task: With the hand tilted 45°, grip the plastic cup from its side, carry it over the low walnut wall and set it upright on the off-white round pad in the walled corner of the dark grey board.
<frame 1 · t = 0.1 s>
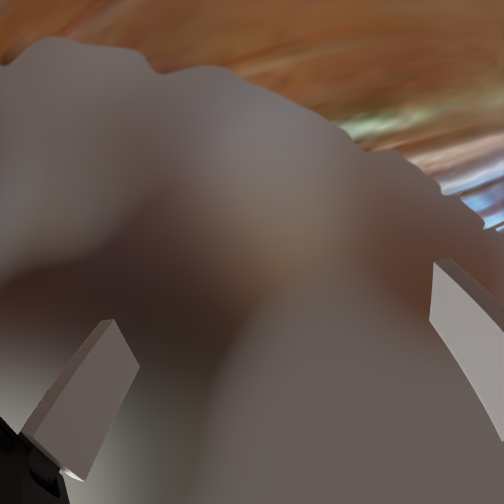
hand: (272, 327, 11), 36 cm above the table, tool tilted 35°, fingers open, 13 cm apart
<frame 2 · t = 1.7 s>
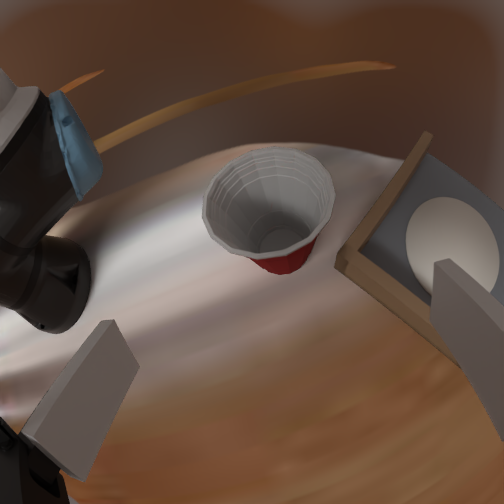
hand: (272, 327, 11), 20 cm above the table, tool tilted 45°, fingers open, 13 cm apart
plastic cup: (281, 250, 33), on the table
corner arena: (453, 251, 28), on the table
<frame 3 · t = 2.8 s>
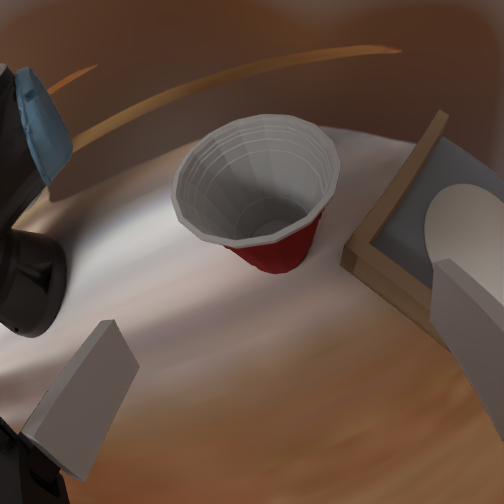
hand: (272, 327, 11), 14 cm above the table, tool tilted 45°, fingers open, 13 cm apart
plastic cup: (276, 245, 28), on the table
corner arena: (477, 246, 23), on the table
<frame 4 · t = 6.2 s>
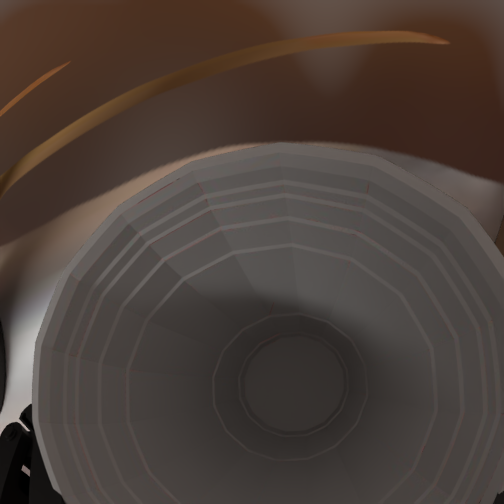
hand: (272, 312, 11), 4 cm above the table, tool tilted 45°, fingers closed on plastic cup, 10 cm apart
plastic cup: (291, 381, 14), on the table, touching gripper
when the fingers open (7 cm above the table, at t = 12.2 s): plastic cup moves 3 cm, resting on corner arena.
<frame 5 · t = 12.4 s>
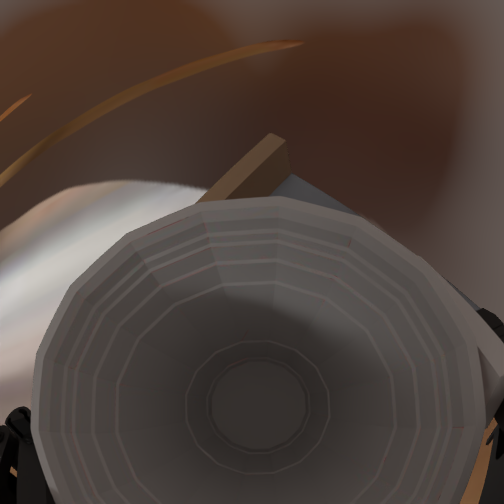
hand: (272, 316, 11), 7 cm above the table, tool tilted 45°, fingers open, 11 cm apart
plastic cup: (256, 402, 15), point 1 cm above the table, touching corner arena, gripper
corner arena: (295, 379, 16), on the table
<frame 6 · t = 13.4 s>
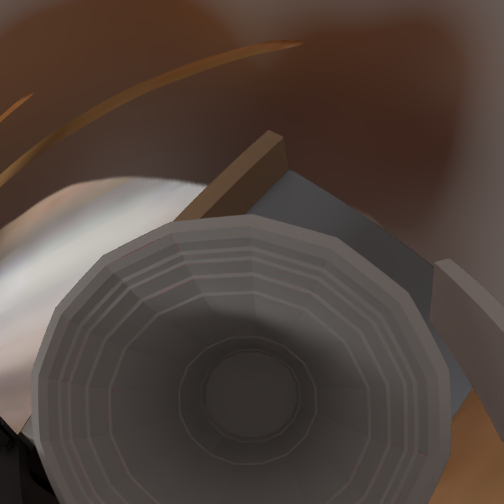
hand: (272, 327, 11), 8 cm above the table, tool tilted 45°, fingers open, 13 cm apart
plastic cup: (249, 392, 16), point 1 cm above the table, touching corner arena, gripper
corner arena: (292, 368, 17), on the table
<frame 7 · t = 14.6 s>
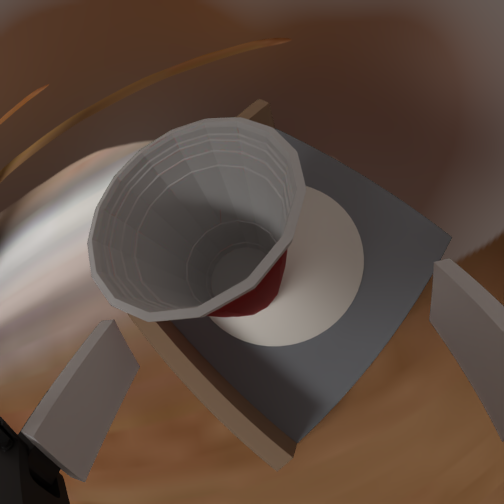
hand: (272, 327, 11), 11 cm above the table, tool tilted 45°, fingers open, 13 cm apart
plastic cup: (243, 278, 23), point 1 cm above the table, touching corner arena
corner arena: (276, 260, 24), on the table
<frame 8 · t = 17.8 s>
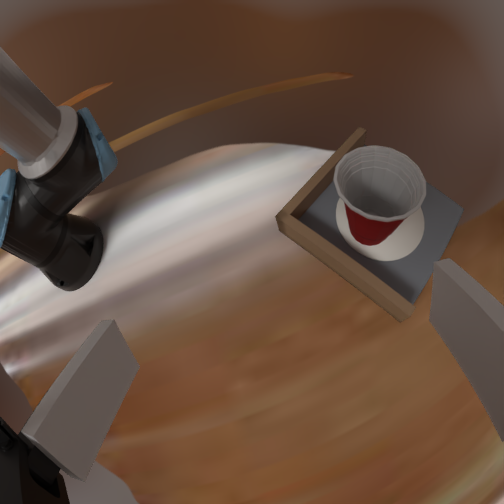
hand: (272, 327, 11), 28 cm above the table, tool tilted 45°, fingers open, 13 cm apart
plastic cup: (367, 227, 39), point 1 cm above the table, touching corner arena
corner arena: (380, 219, 40), on the table
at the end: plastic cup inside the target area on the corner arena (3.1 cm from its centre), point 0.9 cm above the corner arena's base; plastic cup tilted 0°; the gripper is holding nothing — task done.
